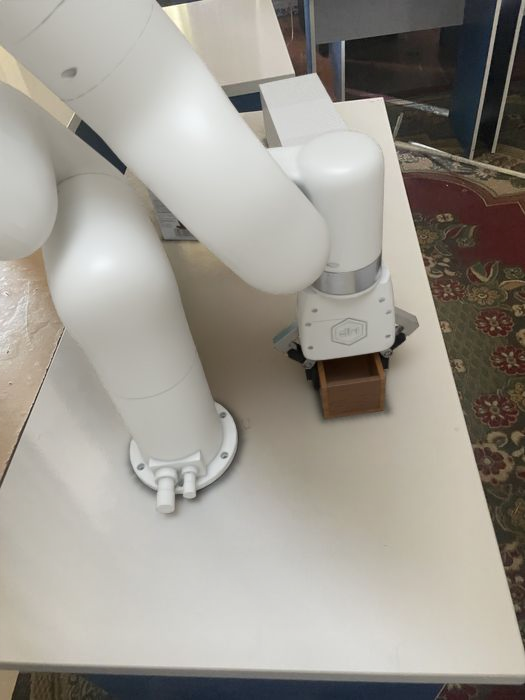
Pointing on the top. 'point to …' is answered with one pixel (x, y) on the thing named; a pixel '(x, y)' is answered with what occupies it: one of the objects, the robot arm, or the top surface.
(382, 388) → the wooden box
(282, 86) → the stack of papers
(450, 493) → the top surface
